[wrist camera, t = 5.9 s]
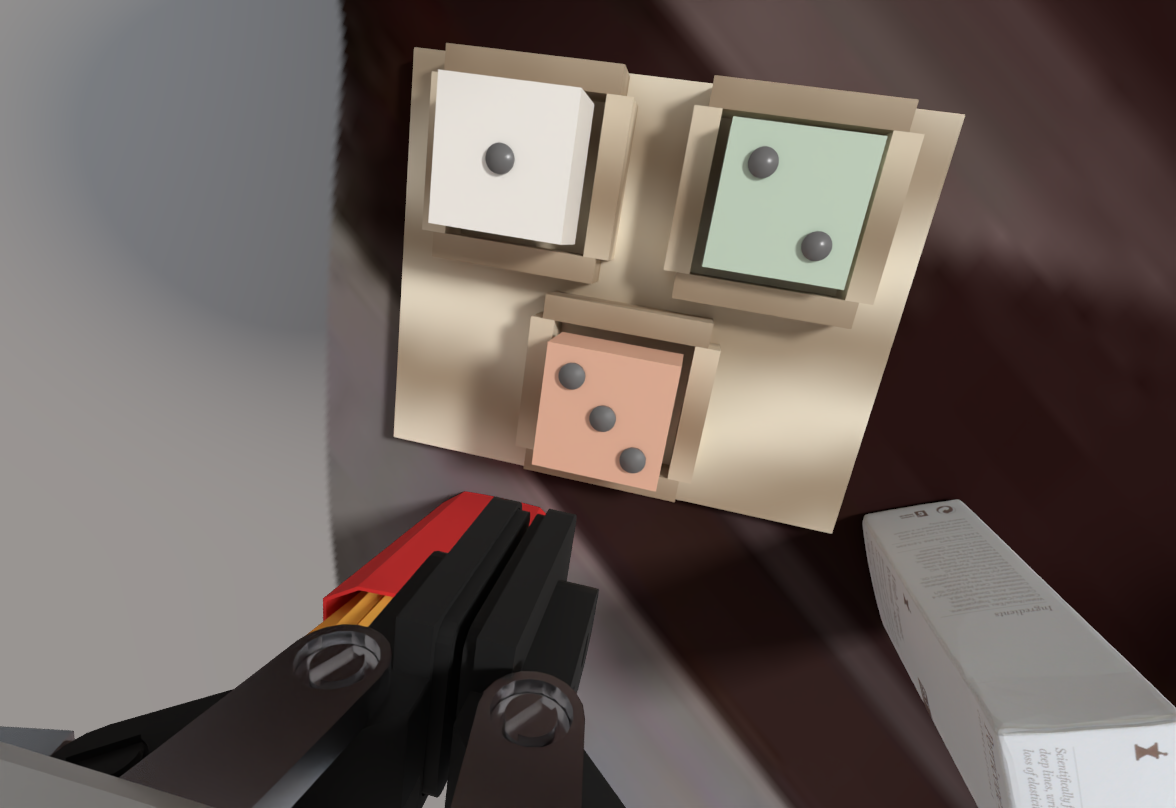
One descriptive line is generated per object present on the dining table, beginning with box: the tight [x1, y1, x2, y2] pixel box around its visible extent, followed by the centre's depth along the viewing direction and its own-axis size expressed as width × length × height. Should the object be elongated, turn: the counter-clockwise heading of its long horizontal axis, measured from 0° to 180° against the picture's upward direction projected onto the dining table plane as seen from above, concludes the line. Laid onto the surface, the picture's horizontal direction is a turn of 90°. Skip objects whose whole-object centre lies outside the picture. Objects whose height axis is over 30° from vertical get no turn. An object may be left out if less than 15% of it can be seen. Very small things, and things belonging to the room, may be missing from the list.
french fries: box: [308, 491, 546, 634], centre depth 24 cm, size 8×4×12 cm, turn 82°
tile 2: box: [702, 116, 888, 290], centre depth 21 cm, size 5×5×3 cm
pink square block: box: [532, 332, 684, 492], centre depth 23 cm, size 5×5×3 cm
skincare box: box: [862, 499, 1176, 808], centre depth 20 cm, size 6×4×12 cm
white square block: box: [428, 69, 594, 245], centre depth 21 cm, size 5×5×3 cm
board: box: [394, 43, 965, 534], centre depth 24 cm, size 17×21×3 cm
